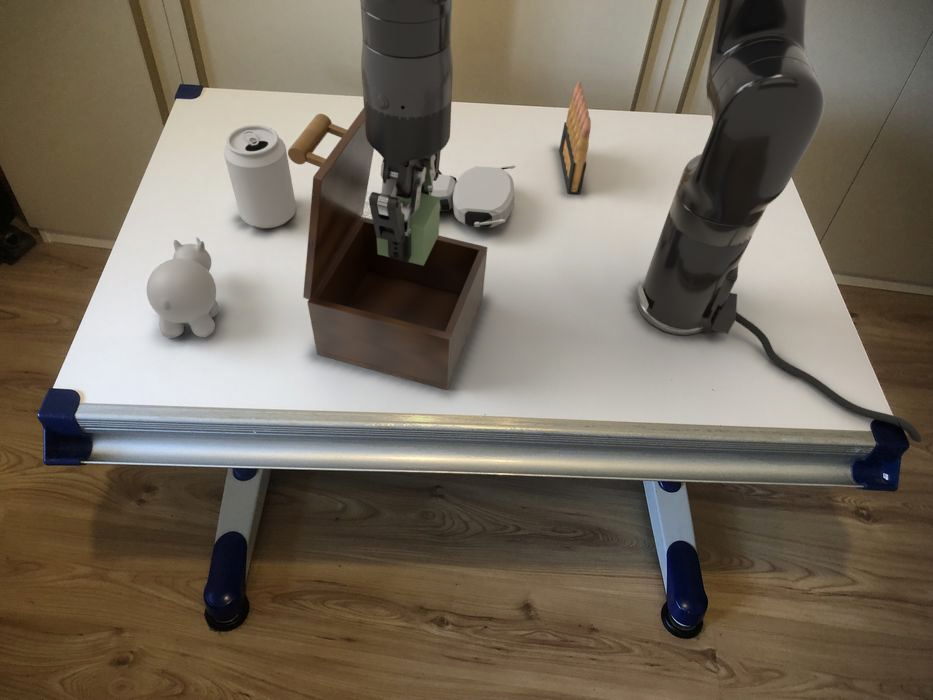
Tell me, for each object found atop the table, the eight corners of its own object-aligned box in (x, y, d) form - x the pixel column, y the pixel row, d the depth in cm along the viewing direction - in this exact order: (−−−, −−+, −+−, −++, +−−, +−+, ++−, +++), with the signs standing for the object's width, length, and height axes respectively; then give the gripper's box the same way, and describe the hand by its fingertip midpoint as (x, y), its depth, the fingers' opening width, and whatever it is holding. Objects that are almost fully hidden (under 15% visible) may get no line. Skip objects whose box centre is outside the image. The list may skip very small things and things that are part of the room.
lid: (383, 93, 67) (335, 74, 67) (321, 180, 58) (266, 157, 58) (363, 214, 80) (322, 198, 80) (310, 300, 71) (264, 282, 71)
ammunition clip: (580, 194, 100) (596, 120, 90) (567, 194, 99) (582, 120, 90) (570, 150, 106) (585, 77, 97) (558, 150, 106) (572, 77, 97)
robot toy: (398, 234, 93) (508, 244, 91) (395, 208, 90) (509, 217, 88) (416, 180, 101) (518, 187, 99) (414, 153, 97) (519, 161, 96)
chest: (482, 299, 85) (487, 246, 78) (446, 390, 76) (449, 339, 69) (364, 270, 87) (360, 216, 81) (316, 354, 78) (307, 302, 72)
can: (255, 239, 90) (236, 162, 81) (231, 208, 94) (210, 131, 84) (306, 219, 93) (294, 143, 84) (281, 190, 97) (266, 113, 87)
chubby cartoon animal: (239, 271, 86) (224, 218, 80) (216, 345, 79) (197, 293, 72) (181, 269, 86) (162, 215, 79) (152, 342, 78) (128, 290, 72)
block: (438, 235, 73) (440, 197, 69) (423, 266, 70) (423, 228, 66) (394, 224, 73) (393, 186, 70) (377, 254, 70) (375, 216, 66)
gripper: (421, 145, 53) (421, 297, 66) (473, 57, 62) (464, 207, 75) (331, 124, 54) (348, 278, 67) (395, 41, 63) (399, 191, 76)
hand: (409, 240), depth 71 cm, fingers closed on block, 5 cm apart
